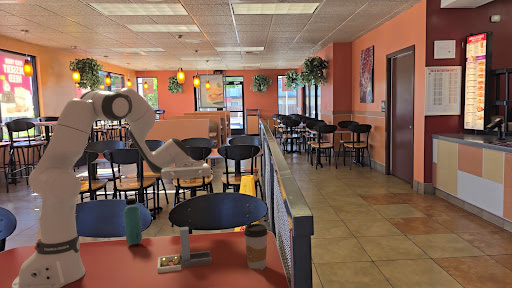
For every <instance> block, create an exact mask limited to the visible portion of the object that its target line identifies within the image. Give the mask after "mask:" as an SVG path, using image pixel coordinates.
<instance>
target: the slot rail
mask: <svg viewBox="0 0 512 288" xmlns="http://www.w3.org/2000/svg"><path fill="white" fill-rule="evenodd" d="M180 258H181V263H180V265H181V269H182V268H188V267H197V266H205V265H211V264H212V263H213V260H212V259H213V258H212V257H211V251H210V250H205V251H196V252H190V260H185V261H182V255H181V253H180Z"/></svg>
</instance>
